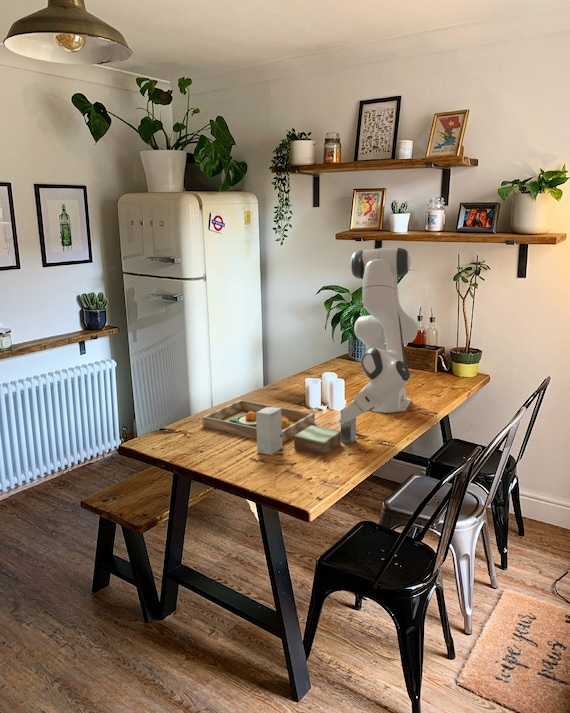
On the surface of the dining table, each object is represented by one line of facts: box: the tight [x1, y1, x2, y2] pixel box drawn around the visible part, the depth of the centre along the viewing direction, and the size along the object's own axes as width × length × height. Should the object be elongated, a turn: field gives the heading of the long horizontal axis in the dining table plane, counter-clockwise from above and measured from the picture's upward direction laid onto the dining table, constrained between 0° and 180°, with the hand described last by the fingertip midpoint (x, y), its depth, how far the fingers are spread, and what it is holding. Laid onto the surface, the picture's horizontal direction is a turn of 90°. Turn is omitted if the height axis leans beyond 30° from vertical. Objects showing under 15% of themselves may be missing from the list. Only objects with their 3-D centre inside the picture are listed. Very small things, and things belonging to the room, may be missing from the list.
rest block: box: [293, 424, 342, 457], centre depth 216 cm, size 12×12×5 cm
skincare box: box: [256, 407, 283, 456], centre depth 212 cm, size 8×6×15 cm
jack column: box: [339, 406, 357, 445], centre depth 219 cm, size 4×4×12 cm
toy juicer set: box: [225, 411, 291, 430], centre depth 236 cm, size 29×18×8 cm, turn 59°
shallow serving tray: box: [201, 399, 316, 443], centre depth 239 cm, size 25×36×4 cm
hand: (347, 418), depth 219 cm, fingers open, 8 cm apart
